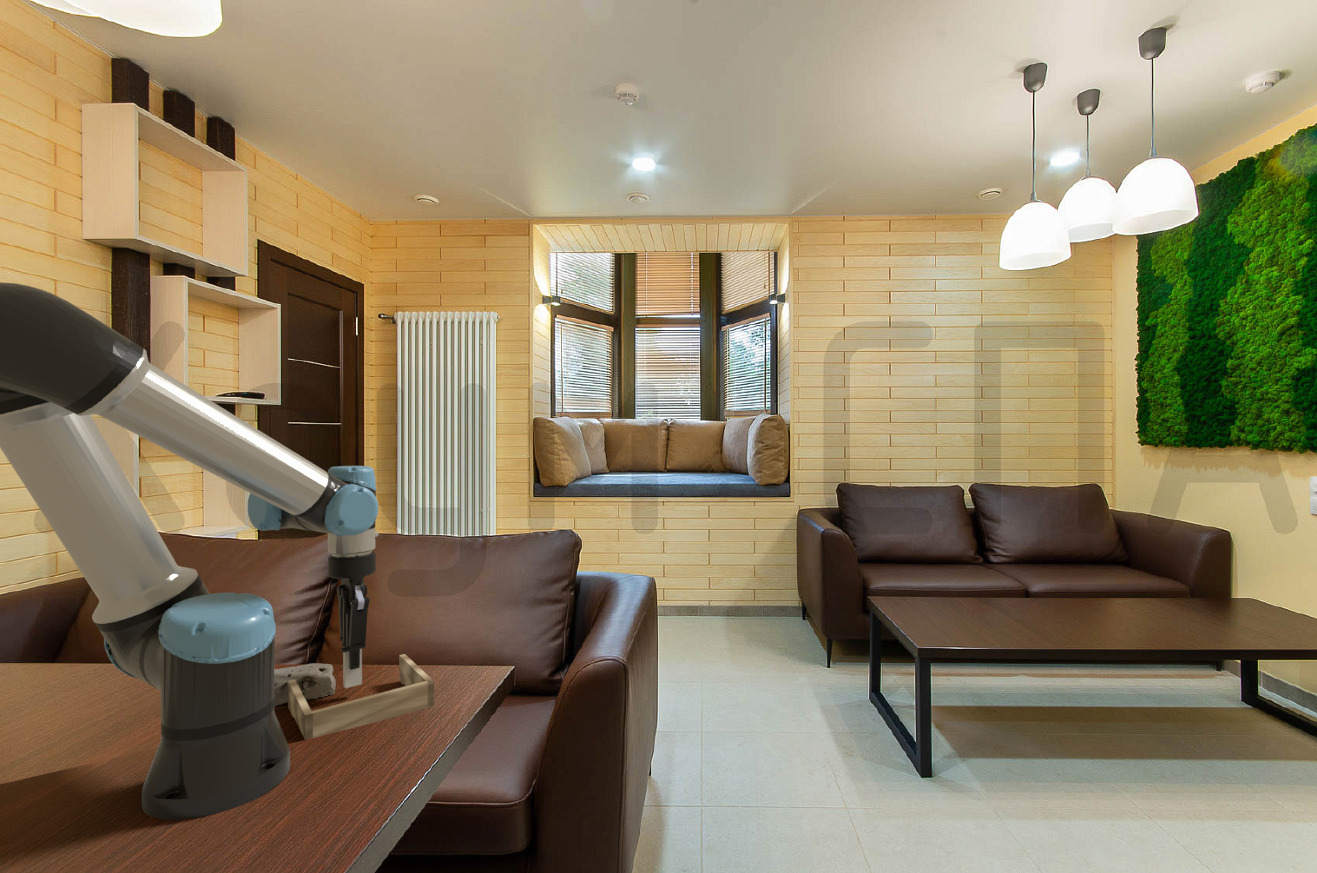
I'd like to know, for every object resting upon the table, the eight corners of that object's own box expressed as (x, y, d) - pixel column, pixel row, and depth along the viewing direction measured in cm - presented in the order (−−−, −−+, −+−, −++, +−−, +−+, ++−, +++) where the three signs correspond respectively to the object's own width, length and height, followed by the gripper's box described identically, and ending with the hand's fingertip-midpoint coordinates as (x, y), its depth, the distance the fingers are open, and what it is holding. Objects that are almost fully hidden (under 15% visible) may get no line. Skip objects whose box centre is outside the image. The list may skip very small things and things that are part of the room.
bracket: (434, 710, 99) (433, 681, 99) (305, 749, 87) (305, 715, 87) (404, 680, 111) (404, 654, 111) (288, 710, 99) (288, 681, 99)
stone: (348, 691, 105) (330, 678, 112) (343, 660, 105) (326, 649, 112) (262, 725, 96) (249, 708, 103) (257, 691, 96) (244, 676, 103)
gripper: (385, 555, 101) (385, 691, 101) (365, 544, 111) (366, 668, 111) (336, 561, 96) (337, 704, 96) (321, 549, 106) (321, 678, 106)
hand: (352, 684), depth 104 cm, fingers closed
